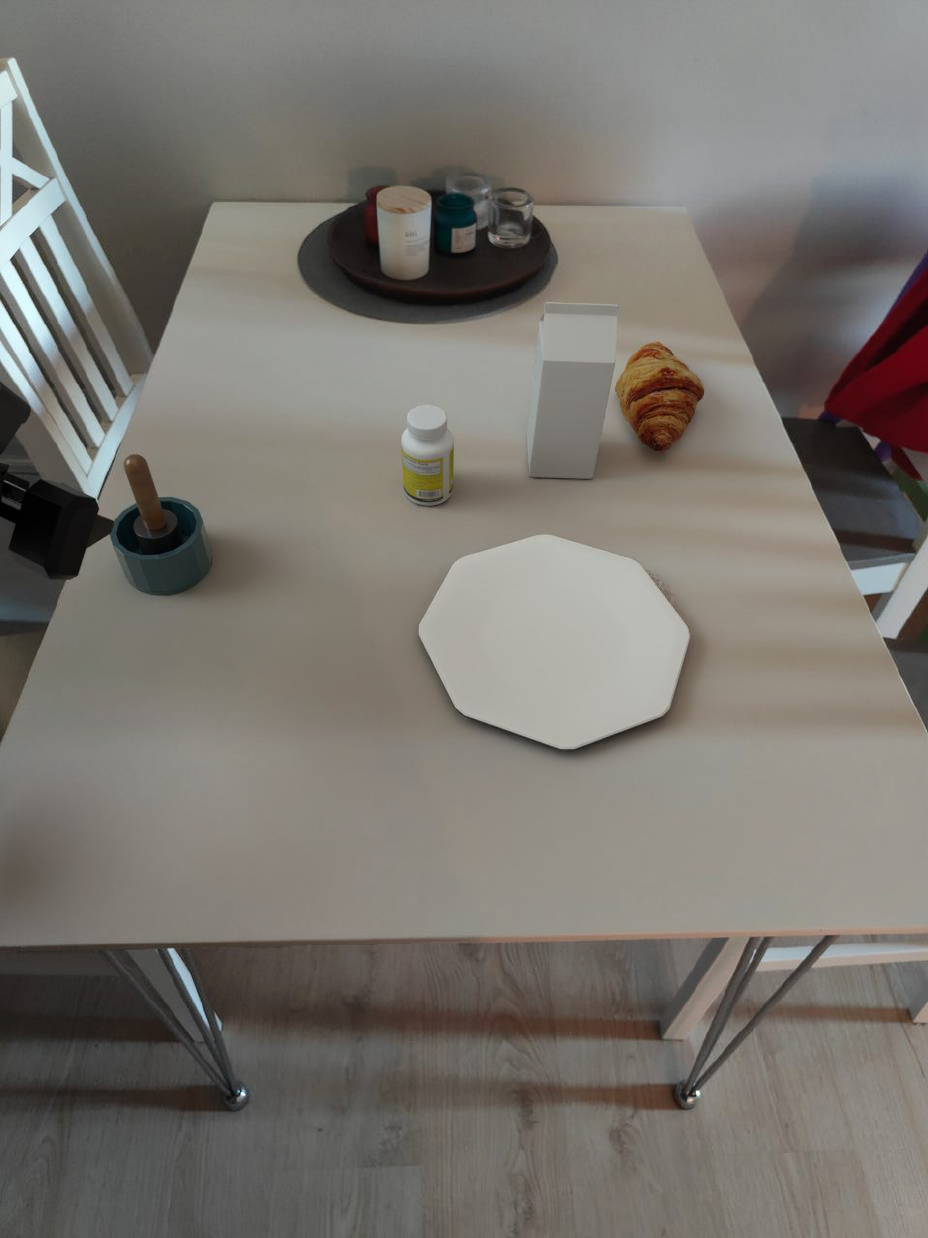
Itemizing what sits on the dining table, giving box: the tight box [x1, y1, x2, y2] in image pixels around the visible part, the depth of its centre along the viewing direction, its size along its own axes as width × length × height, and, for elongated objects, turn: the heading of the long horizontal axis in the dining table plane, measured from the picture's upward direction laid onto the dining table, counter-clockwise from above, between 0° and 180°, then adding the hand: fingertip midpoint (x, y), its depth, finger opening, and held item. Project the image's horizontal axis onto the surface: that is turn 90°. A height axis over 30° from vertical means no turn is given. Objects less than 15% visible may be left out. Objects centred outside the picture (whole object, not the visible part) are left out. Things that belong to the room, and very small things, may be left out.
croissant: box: [614, 340, 705, 452], centre depth 101 cm, size 21×10×8 cm, turn 174°
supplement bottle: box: [400, 404, 455, 507], centre depth 88 cm, size 5×5×10 cm
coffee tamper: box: [122, 453, 185, 555], centre depth 79 cm, size 4×4×13 cm
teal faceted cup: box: [109, 496, 213, 596], centre depth 82 cm, size 8×8×5 cm
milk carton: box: [526, 301, 620, 480], centre depth 89 cm, size 7×7×19 cm
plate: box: [418, 534, 691, 751], centre depth 79 cm, size 24×24×2 cm
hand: (68, 506), depth 70 cm, fingers open, 9 cm apart
